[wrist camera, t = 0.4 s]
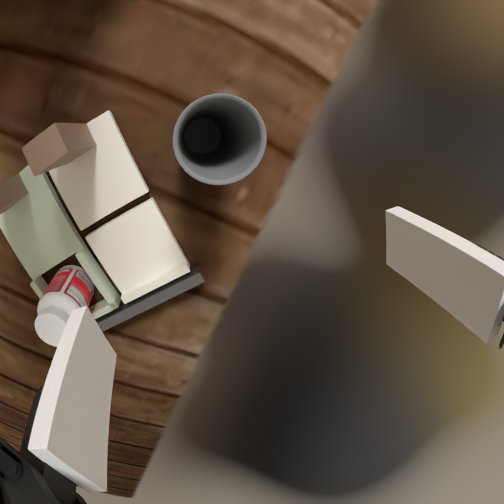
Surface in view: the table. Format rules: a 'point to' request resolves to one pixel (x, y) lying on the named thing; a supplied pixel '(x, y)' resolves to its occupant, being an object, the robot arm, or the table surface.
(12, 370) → the table surface
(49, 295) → the pill bottle
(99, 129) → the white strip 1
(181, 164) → the cup
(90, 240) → the white strip
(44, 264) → the pale green stand
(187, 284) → the end bar
